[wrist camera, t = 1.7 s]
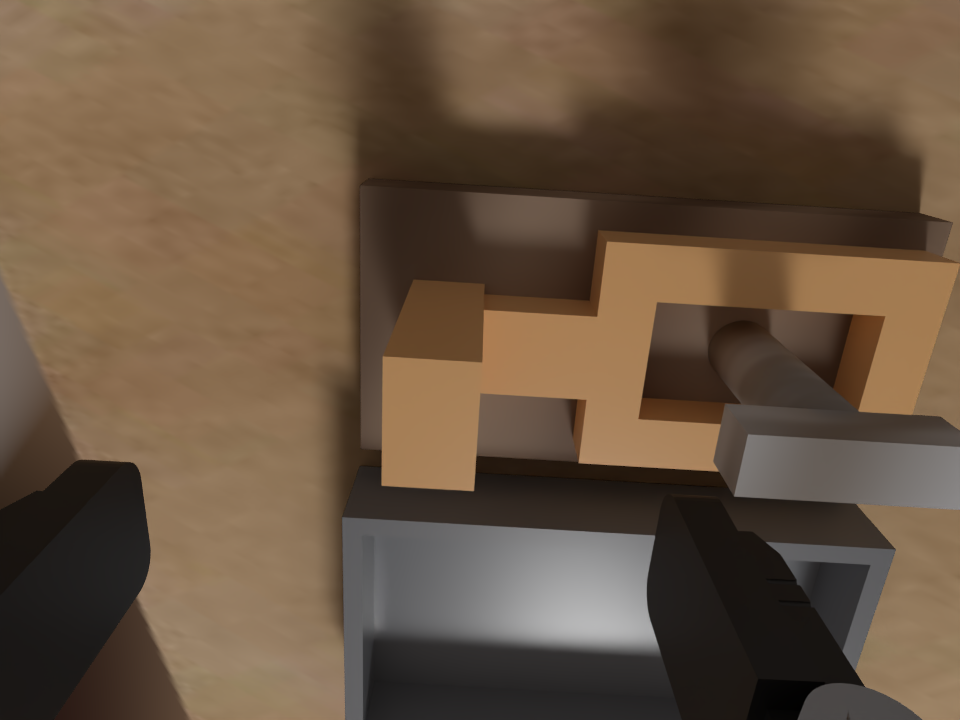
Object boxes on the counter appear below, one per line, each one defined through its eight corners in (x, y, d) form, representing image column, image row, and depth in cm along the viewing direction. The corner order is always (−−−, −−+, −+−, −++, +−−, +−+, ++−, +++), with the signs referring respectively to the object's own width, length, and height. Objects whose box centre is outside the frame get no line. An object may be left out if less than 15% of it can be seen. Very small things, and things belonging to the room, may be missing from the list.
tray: (847, 494, 23) (895, 549, 21) (785, 703, 27) (819, 774, 24) (359, 465, 23) (342, 517, 21) (360, 679, 27) (345, 748, 24)
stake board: (920, 213, 20) (1196, 293, 12) (850, 455, 23) (1036, 644, 15) (368, 178, 20) (290, 236, 12) (368, 427, 23) (305, 603, 15)
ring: (925, 250, 19) (1108, 318, 13) (864, 455, 21) (997, 586, 16) (415, 218, 19) (383, 273, 13) (409, 428, 21) (380, 551, 16)
